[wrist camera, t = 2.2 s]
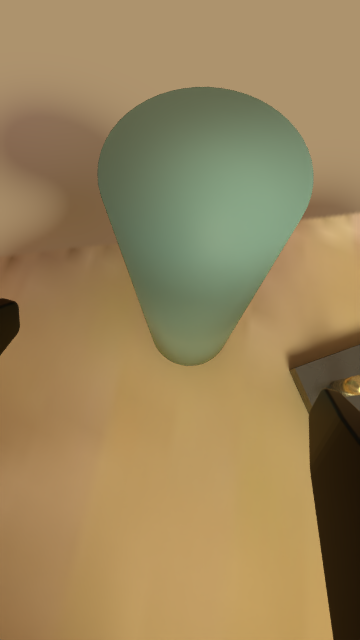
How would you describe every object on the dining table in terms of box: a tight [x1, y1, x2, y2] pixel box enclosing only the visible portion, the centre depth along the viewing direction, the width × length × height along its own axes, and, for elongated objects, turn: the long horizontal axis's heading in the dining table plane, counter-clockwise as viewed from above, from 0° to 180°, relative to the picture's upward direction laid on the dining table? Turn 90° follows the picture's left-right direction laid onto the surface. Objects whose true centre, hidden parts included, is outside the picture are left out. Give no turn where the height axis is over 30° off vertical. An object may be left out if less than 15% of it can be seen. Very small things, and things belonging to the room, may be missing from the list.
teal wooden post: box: [98, 87, 313, 366], centre depth 14 cm, size 5×5×14 cm
